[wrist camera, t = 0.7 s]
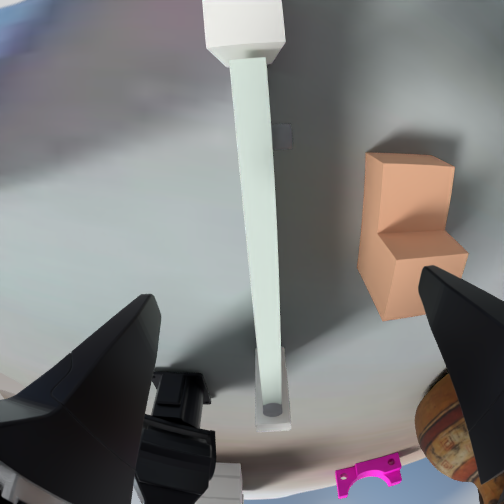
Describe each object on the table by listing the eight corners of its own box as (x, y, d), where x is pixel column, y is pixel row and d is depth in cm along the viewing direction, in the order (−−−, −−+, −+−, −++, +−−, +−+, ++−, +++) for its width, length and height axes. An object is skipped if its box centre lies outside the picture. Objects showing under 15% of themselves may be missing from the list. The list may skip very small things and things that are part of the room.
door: (288, 347, 29) (295, 415, 22) (261, 349, 29) (263, 417, 22) (278, 70, 17) (295, 55, 10) (237, 72, 17) (227, 58, 10)
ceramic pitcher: (506, 318, 29) (590, 483, 4) (502, 374, 38) (552, 494, 12) (394, 390, 35) (439, 576, 10) (418, 425, 43) (450, 553, 18)
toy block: (397, 451, 51) (404, 477, 45) (393, 459, 54) (399, 483, 48) (335, 467, 53) (339, 494, 46) (335, 473, 56) (338, 499, 49)
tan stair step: (414, 261, 25) (449, 309, 19) (356, 266, 25) (382, 321, 19) (430, 154, 20) (484, 183, 14) (364, 152, 20) (407, 179, 14)
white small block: (284, 356, 31) (290, 430, 23) (256, 358, 31) (256, 432, 23) (264, -12, 14) (271, -72, 6) (219, -8, 14) (198, -66, 6)
